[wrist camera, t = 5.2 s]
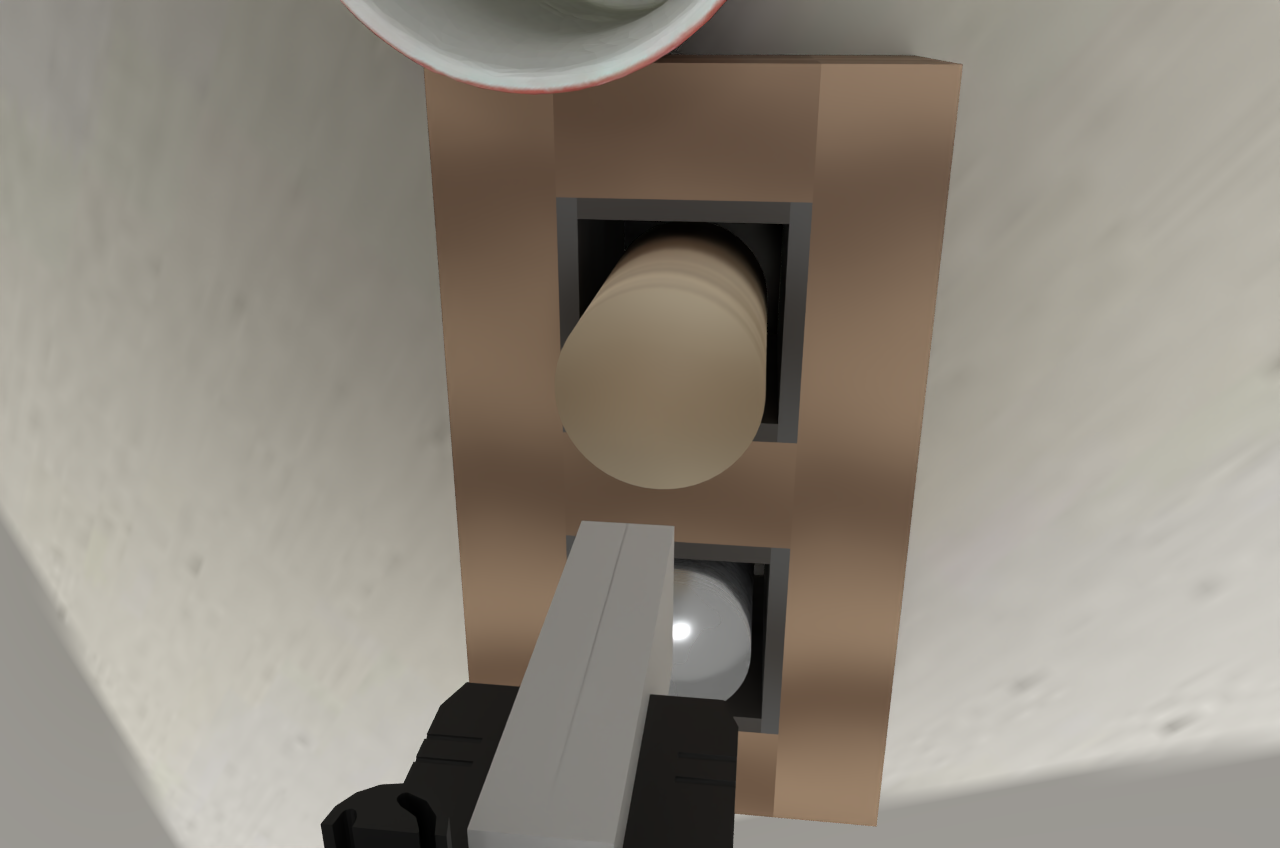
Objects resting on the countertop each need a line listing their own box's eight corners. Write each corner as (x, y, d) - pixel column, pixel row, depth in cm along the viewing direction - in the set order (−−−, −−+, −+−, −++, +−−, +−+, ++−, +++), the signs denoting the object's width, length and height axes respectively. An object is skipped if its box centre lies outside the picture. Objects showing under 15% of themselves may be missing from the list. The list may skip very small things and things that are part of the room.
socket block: (508, 53, 30) (423, 61, 23) (914, 55, 29) (962, 64, 21) (534, 642, 38) (477, 790, 31) (855, 665, 37) (876, 826, 29)
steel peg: (631, 465, 33) (595, 578, 27) (757, 471, 33) (753, 588, 26) (632, 574, 35) (597, 708, 28) (752, 582, 35) (747, 720, 28)
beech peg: (609, 217, 26) (551, 286, 19) (771, 221, 26) (770, 292, 19) (611, 369, 28) (557, 484, 21) (763, 376, 27) (760, 494, 20)
